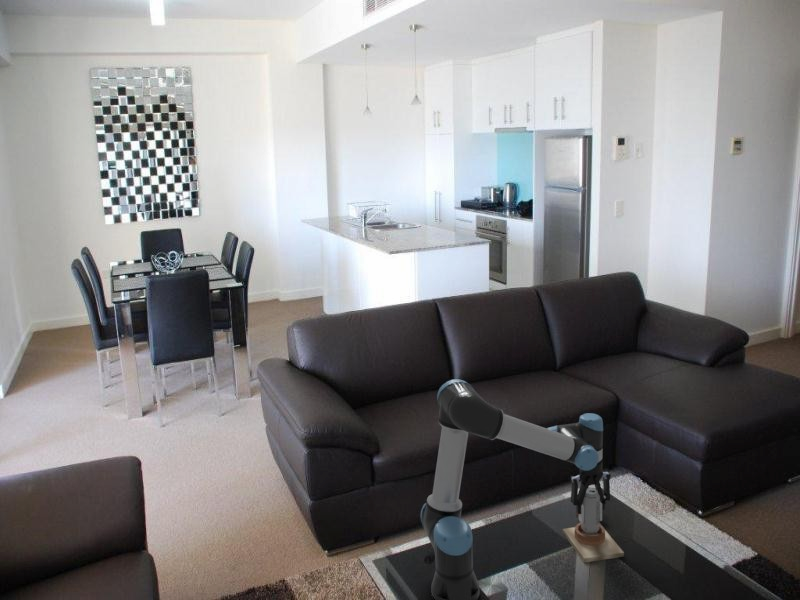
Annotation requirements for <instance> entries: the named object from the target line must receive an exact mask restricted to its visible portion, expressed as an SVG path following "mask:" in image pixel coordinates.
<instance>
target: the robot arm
mask: <svg viewBox="0 0 800 600" xmlns="http://www.w3.org/2000/svg"><path fill="white" fill-rule="evenodd" d="M436 396H437V397H436V398H437V399H436V400H437V403H438V404H437V405H438V406H439V410H438V411H439V413H438V420H437V423H438V424H439V425H440V426H441V432H440V439H439V446H438V453H437V458H436V459H437V461H436V465H435V466H436V467H435V473H434V480H433V487H432V494H430V495H428V497H427V499H426V502H425V503H424V504H423V505H422V508H421V509H420V522H421V525H422V528H423V529H424V531H425V533H426V536H427V537H428V539H429V541H430V544H431V546H432V548H433V550H434V556H435V557H434V559H435V560H434V562H435V572H434V575H433V579H432V581H431V584H430V586H431V587H430V590H431V591H430V592H431V593H432V594H431V597H432V596H433V597H434V599H436V600H479V597H480V592H481V591H480V585H479V581H478V579H477V576H476V574H475V571H474V556H473V555H474V553H473V551H474V550H473V540H474V537H473V532H472V527H471V525H470V524H469V523H468V522H467V521H466V520H465V519H463V518H461V516H462V508H463V502H462V500H461V499H459V498H460V491H461V484H462V478H463V472H464V471H463V469H464V464H465V459H466V458H465V457H466V451H467V446H468V438H469V434H472V435H475V436H478V437H481V438H484V439H488V440H491V441H493V440H495V439H498V440H502V441H505V442H507V443H511V444H514V445H517V446H520V447H523V448H525V449H526V448H527V449H528V450H532V451H535V452H538V453H541V454H544V455H548V456H549V457H550V456H551V457H554V458H557V459H558V460H559V459H560V460H562V461H565V462H569V463H572V464H574V465H575V466H576V467H577V468H578V469H579V472H578V473H577V475H576V476H574V475H570V480H571V489H570V490H571V491H570V503H572V504H573V506H576V508H575V509H576V511H575V512H577V513H578V514H579V517H578V522H579V523H580V522H581V523H582V524H583V523H584V506H583V505H582V503H583V500H584V497H585V494H586V490H587V489H588V487H590V486H592V485H593V486H594V488H595V489H597V490H598V493H599V495H600V516H599V522H602V521H603V512H604V511H605V507H606V506H605V505H606V504H607V501H608V502H609V501H610V500H611V487H610V485H611V483H610V481H611V477H612V475H611V473H609V471H603V450H604V449H603V445H604V443H603V442H604V441H603V440H604V422H603V418H602V417H601V416H600V415H599V414H596V413H593V412H591V413H589V412H588V413H583V414H581V415H579V420H578V422H574V423H568V424H567V423H566V424H560V425H554V426H550V427H547V428H546V427H543V426H541V425H537V424H534V423H532V422H528V421H526V420H522V419H521V418H517V417H514V416H511V415H509V414H506V413H504V411H503V409H501V408H498V407H496V406H493V405H491V404H490V403H488V402H487V401H486V400H485V399H483V398H482V397H481V396H480V394H479V393H477V392H476V390H475V389H474V387H473V385H471V384H470V383H468V382H467V381H465V380H462V379H457V378H456V379H455V378H454V379H450V380H447V381H446V382H445V383H443V384H442V385H441V386H440V387H439V389H438V392H437V394H436ZM601 479H602V485H603V486H601V482H600V480H601ZM579 481H580V482H579ZM579 483H580V486H579ZM602 489H603V490H602ZM433 597H432V598H433ZM434 599H433V600H434Z"/></svg>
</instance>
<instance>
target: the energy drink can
mask: <svg viewBox="0 0 800 600" xmlns="http://www.w3.org/2000/svg"><path fill="white" fill-rule="evenodd" d="M582 505H583V506H584V523H583V524H582V523H581V528H582V529H583V531H584V532H585V533H588V534H595V533H597V532H598V530H599V524H600V520H599V516H600V495H599V493H598V490H597V489H596V488H595V487H590V486H589V487H588V489H587V490H586V494H585V497H584V500H583V503H582Z"/></svg>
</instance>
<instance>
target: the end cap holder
mask: <svg viewBox="0 0 800 600" xmlns="http://www.w3.org/2000/svg"><path fill="white" fill-rule="evenodd" d="M562 534H563V535H564V537H565V538H566V540H567V541H568V543H570V545H571V547H572V548H573V549H574V550H575V552H576V554H577V555H578V556H579V557H580V559H581V560H582V562H583V563H590V562H596V561H597V562H598V561H602V560H603V561H604V560H609V559H617V558H622V557H625V556H624V555H625V552H624V550H623V549H622V548H621V547H620V546H619V545H618V544H617V542H616V541H615V540H614V538H612V537H611V535H610V533H608V531H607V530H606V529H605V527H604V526H603V525H602V523H599V530H598V532H597V533H595V534H588V533H585V532H584V531H583V529H582V528H581V522H580V521H579V522H578V523H577V524H575V526H573V527H568V528H562Z"/></svg>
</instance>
